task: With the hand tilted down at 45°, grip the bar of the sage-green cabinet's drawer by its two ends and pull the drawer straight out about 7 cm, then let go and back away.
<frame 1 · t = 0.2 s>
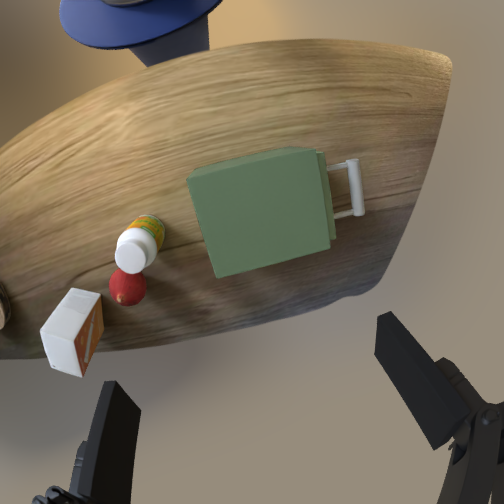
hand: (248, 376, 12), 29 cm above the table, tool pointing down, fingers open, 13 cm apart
cabinet: (251, 195, 38), on the table
supplement bottle: (148, 231, 38), on the table
small box: (88, 307, 42), on the table
drawer: (290, 196, 33), point 5 cm above the table, slide at 0.0 cm
onion: (134, 274, 41), on the table
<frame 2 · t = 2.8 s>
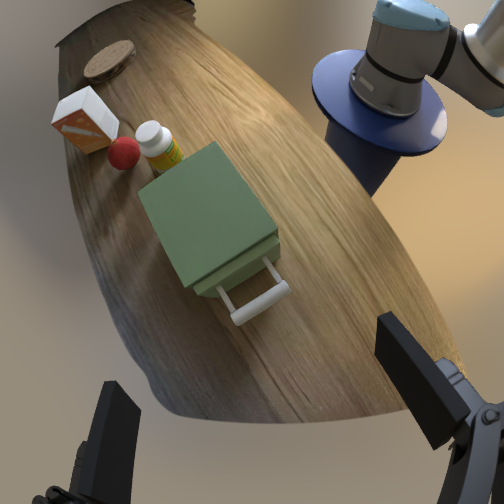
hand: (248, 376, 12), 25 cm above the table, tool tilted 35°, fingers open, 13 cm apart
cabinet: (220, 232, 40), on the table
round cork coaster: (111, 64, 54), on the table
supplement bottle: (170, 162, 44), on the table
small box: (103, 138, 47), on the table
drawer: (228, 248, 34), point 5 cm above the table, slide at 0.0 cm
onion: (133, 163, 45), on the table
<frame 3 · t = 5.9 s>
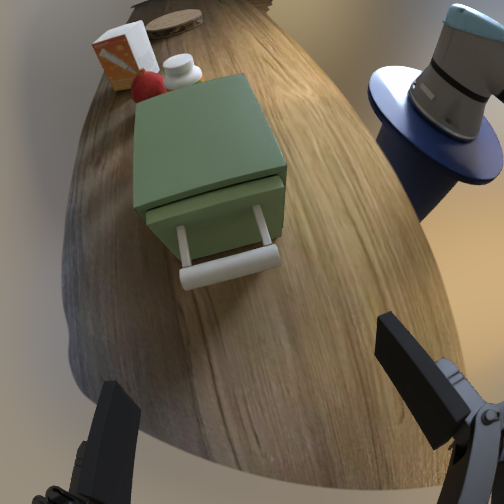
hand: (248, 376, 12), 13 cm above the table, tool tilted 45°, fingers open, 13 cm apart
cabinet: (217, 190, 31), on the table
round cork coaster: (175, 27, 53), on the table
supplement bottle: (193, 112, 37), on the table
small box: (137, 81, 43), on the table
drawer: (215, 195, 24), point 5 cm above the table, slide at 0.0 cm
onion: (155, 106, 38), on the table
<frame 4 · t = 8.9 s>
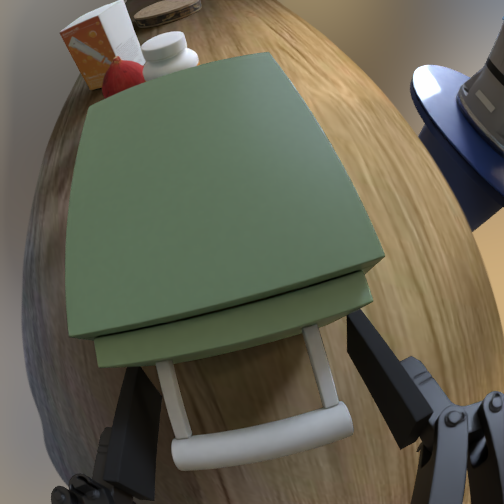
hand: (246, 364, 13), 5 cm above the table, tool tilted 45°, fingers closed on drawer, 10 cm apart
cabinet: (223, 241, 20), on the table
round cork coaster: (169, 15, 43), on the table
supplement bottle: (186, 114, 26), on the table
small box: (118, 76, 32), on the table
drawer: (223, 275, 14), point 5 cm above the table, slide at 0.0 cm, touching gripper
onion: (137, 107, 28), on the table
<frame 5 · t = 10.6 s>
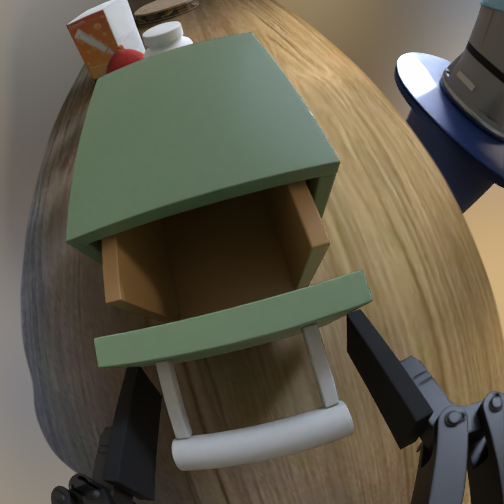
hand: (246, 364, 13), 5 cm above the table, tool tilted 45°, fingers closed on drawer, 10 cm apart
cabinet: (212, 198, 22), on the table
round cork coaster: (167, 12, 44), on the table
supplement bottle: (182, 96, 28), on the table
small box: (120, 67, 33), on the table
drawer: (223, 275, 14), point 5 cm above the table, slide at 4.0 cm, touching gripper
onion: (137, 92, 29), on the table
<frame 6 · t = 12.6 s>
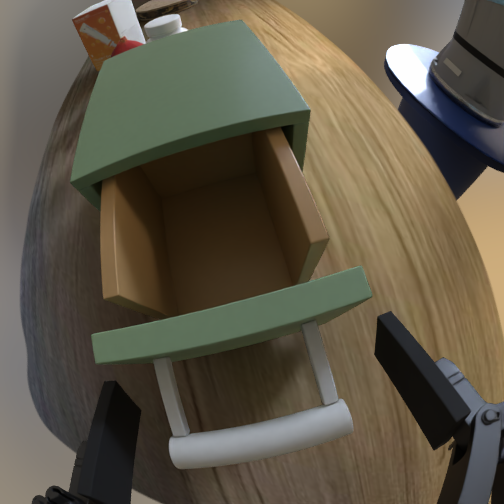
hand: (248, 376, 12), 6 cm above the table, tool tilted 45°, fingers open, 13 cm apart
cabinet: (206, 169, 23), on the table
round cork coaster: (168, 9, 45), on the table
supplement bottle: (181, 83, 29), on the table
small box: (122, 59, 34), on the table
drawer: (222, 272, 14), point 5 cm above the table, slide at 6.9 cm
onion: (139, 81, 30), on the table
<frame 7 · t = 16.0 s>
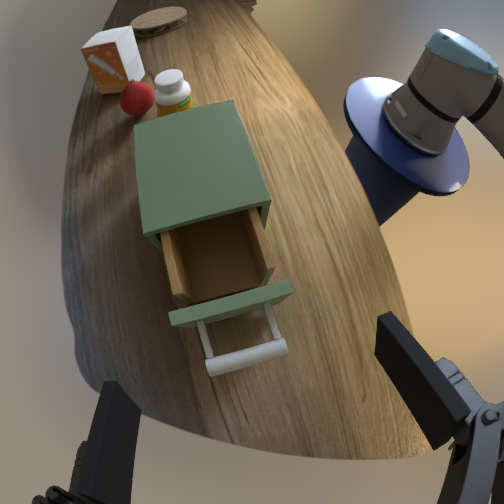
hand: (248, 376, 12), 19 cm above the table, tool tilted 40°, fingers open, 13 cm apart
cabinet: (204, 203, 35), on the table
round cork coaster: (159, 24, 51), on the table
supplement bottle: (179, 122, 39), on the table
small box: (123, 84, 42), on the table
drawer: (223, 277, 27), point 5 cm above the table, slide at 6.9 cm
onion: (142, 114, 40), on the table
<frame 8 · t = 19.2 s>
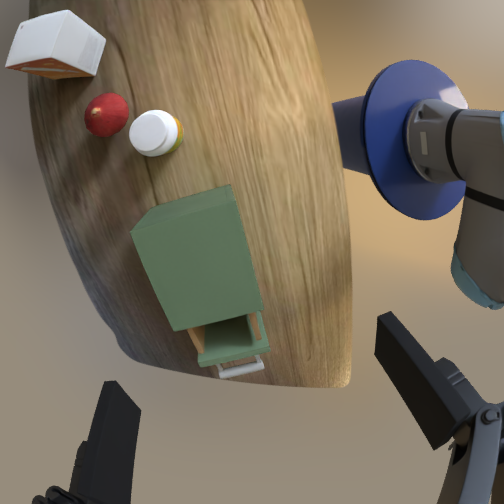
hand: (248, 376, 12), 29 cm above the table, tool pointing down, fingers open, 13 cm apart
cabinet: (203, 240, 39), on the table
supplement bottle: (164, 134, 33), on the table
small box: (79, 59, 25), on the table
drawer: (225, 322, 39), point 5 cm above the table, slide at 6.9 cm
onion: (116, 116, 30), on the table
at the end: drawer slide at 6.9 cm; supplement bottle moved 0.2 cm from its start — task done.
